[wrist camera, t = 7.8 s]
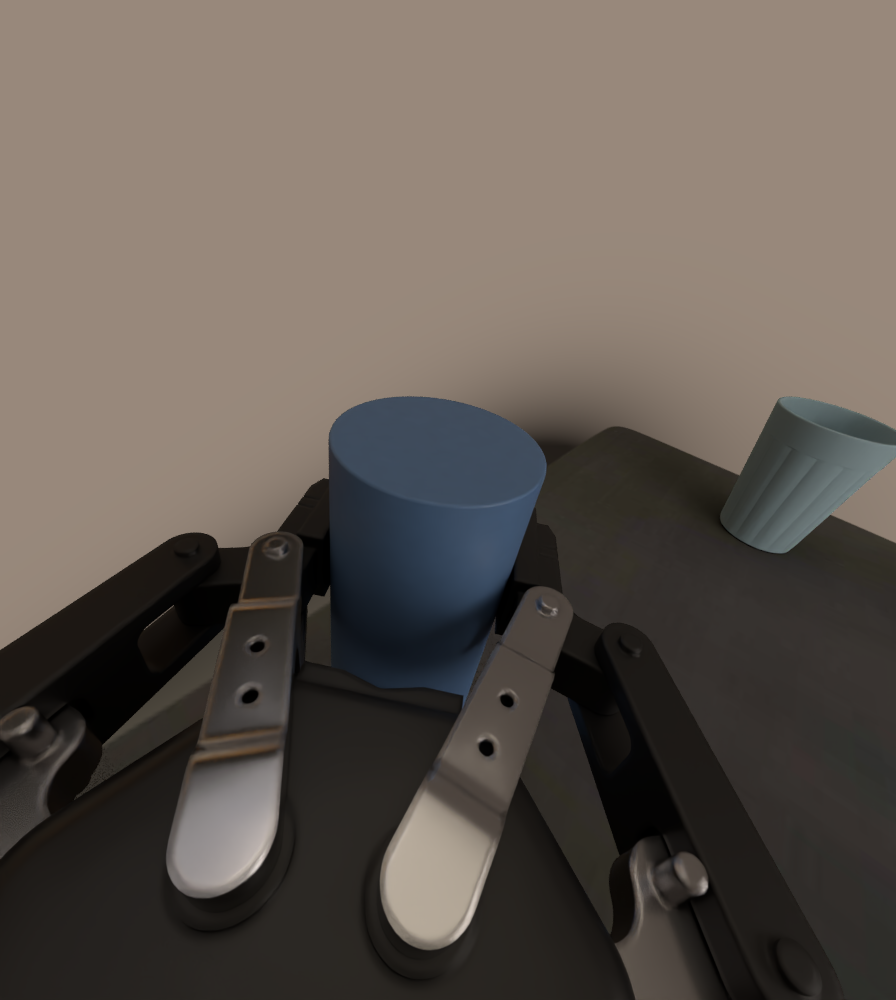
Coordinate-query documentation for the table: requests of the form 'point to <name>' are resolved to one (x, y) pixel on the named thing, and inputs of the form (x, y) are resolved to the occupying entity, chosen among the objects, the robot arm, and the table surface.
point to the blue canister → (423, 536)
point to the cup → (803, 471)
